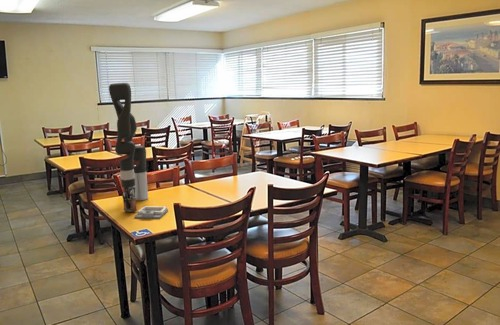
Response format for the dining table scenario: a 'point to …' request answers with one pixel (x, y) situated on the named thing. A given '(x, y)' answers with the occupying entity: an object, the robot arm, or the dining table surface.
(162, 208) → the grey flat square tray
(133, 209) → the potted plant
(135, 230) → the dining table surface
